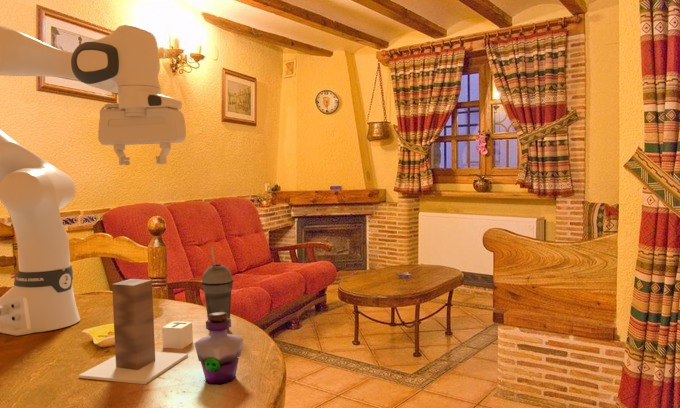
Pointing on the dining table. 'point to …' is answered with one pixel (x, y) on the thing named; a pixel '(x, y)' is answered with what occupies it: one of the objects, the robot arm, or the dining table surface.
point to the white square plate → (140, 376)
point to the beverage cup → (217, 288)
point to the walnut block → (133, 323)
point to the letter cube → (177, 334)
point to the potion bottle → (219, 350)
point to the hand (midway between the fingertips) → (142, 164)
